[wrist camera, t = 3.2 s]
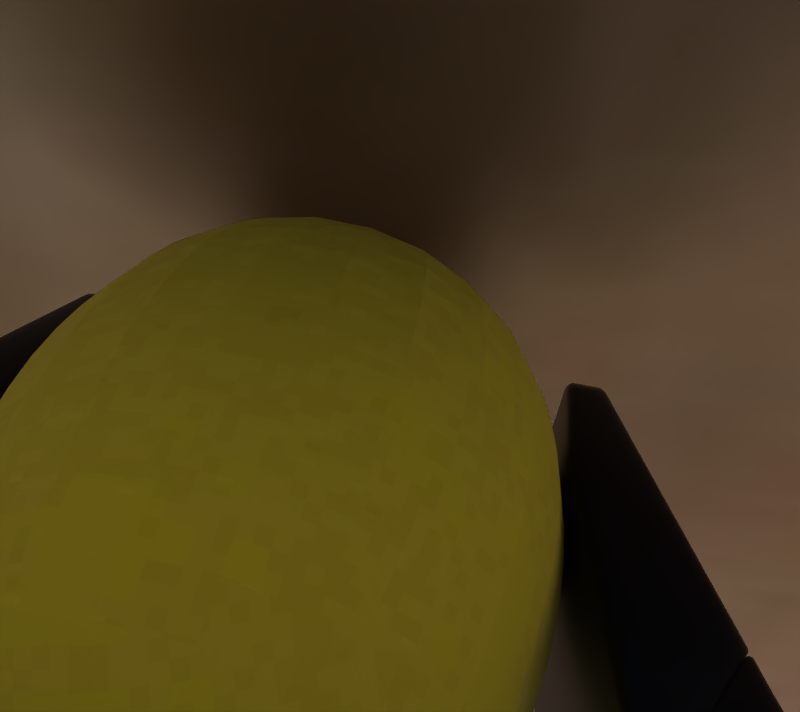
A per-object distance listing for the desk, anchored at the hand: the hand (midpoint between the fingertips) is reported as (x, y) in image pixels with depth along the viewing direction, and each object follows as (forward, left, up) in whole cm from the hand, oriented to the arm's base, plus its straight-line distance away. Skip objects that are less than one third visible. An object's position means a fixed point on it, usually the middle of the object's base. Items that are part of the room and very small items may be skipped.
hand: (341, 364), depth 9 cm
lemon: (0, 0, -2) cm, 2 cm away
